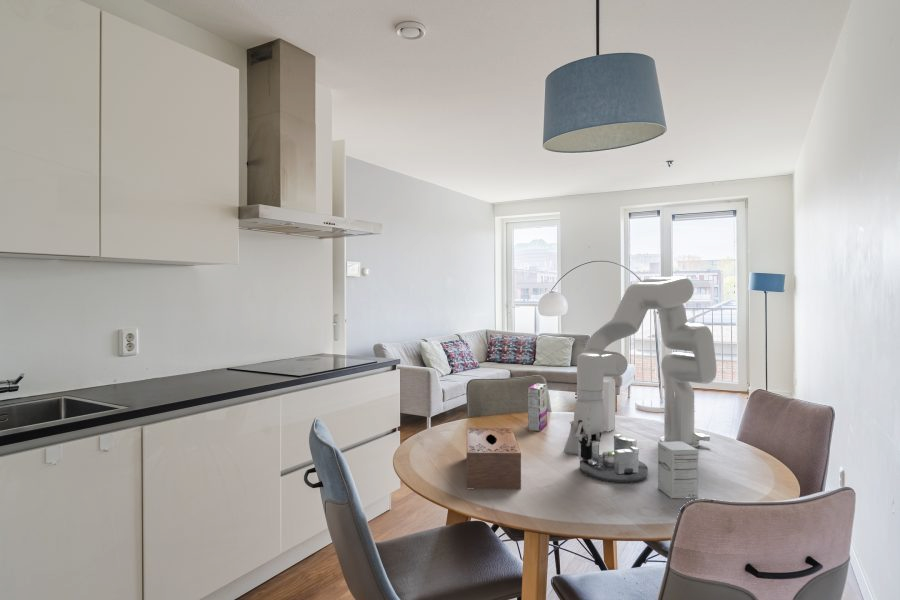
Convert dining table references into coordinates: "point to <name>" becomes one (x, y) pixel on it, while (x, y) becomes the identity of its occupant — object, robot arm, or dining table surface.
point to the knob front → (594, 453)
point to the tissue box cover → (493, 459)
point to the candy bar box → (537, 407)
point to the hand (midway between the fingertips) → (589, 456)
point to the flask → (572, 442)
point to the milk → (609, 403)
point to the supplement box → (678, 469)
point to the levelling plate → (612, 470)
